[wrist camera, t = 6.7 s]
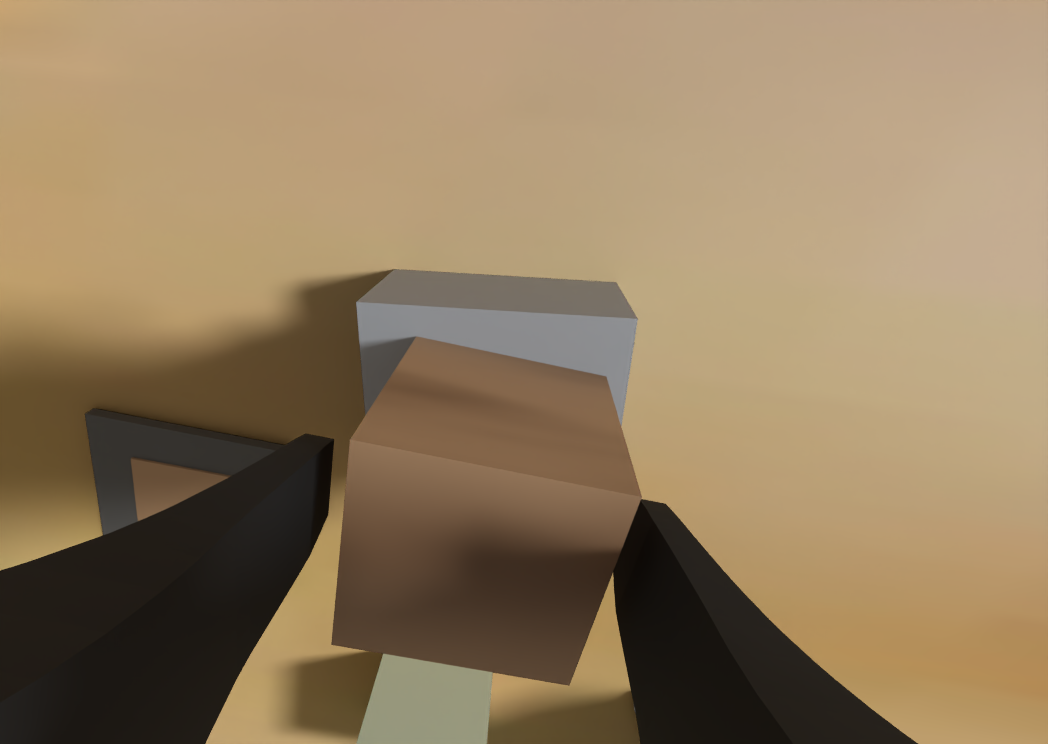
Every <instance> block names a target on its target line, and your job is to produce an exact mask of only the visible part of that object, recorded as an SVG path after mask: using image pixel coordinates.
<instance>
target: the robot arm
mask: <svg viewBox="0 0 1048 744" xmlns="http://www.w3.org/2000/svg"><path fill="white" fill-rule="evenodd" d="M333 446H334V439H330V438H325V437H320V436H315V435H310V434H304V435H302V436H300V437H298V438H297V439H295V440H293V441H291V442H290V443H288V444H286V445H285V446H283V447H281V448H279V449H278V450H276V451H274V452H273V453H271V454H269V455H267V456H266V457H264V458H262V459H261V460H259V461H257V462H255V463H254V464H252V465H250V466H248V467H246V468H245V469H243V470H241V471H239V472H237V473H236V474H234V475H232V476H230V477H229V478H227V479H225V480H223V481H221V482H219V483H217V484H215V485H213V486H211V487H209V488H207V489H205V490H203V491H201V492H199V493H197V494H195V495H193V496H191V497H189V498H187V499H185V500H183V501H181V502H179V503H177V504H175V505H173V506H171V507H169V508H167V509H165V510H163V511H160V512H158V513H156V514H154V515H151V516H149V517H147V518H145V519H142V520H140V521H137V522H135V523H132V524H130V525H128V526H125V527H123V528H120V529H118V530H116V531H113V532H111V533H108V534H105V535H103V536H100V537H98V538H95V539H92V540H89V541H86V542H84V543H81V544H78V545H75V546H72V547H69V548H67V549H64V550H61V551H58V552H55V553H52V554H50V555H47V556H44V557H41V558H38V559H35V560H33V561H30V562H27V563H23V564H20V565H17V566H14V567H11V568H7V569H4V570H1V571H0V744H205V743H206V741H207V739H208V737H209V735H210V732H211V730H212V728H213V726H214V724H215V722H216V720H217V718H218V716H219V714H220V712H221V710H222V708H223V706H224V704H225V702H226V700H227V698H228V696H229V694H230V692H231V690H232V687H233V685H234V683H235V681H236V679H237V677H238V676H239V674H240V672H241V670H242V668H243V667H244V665H245V663H246V661H247V659H248V658H249V656H250V654H251V652H252V651H253V649H254V647H255V646H256V644H257V643H258V641H259V639H260V638H261V636H262V634H263V633H264V631H265V629H266V628H267V626H268V624H269V623H270V621H271V619H272V618H273V616H274V615H275V613H276V611H277V610H278V608H279V606H280V605H281V603H282V601H283V600H284V598H285V596H286V595H287V593H288V592H289V590H290V588H291V587H292V585H293V583H294V582H295V580H296V578H297V577H298V575H299V573H300V572H301V570H302V568H303V566H304V565H305V563H306V561H307V560H308V558H309V556H310V554H311V552H312V550H313V548H314V545H315V543H316V541H317V539H318V537H319V534H320V532H321V530H322V527H323V525H324V523H325V521H326V518H327V516H328V510H329V497H330V485H331V472H332V459H333ZM613 576H614V594H615V606H616V615H617V620H618V626H619V631H620V636H621V642H622V647H623V652H624V657H625V662H626V667H627V672H628V677H629V682H630V687H631V692H632V698H633V704H634V710H635V713H636V718H637V724H638V731H639V737H640V743H641V744H918V743H916V742H915V741H913V740H912V739H911V738H909V737H908V736H907V735H905V734H904V733H902V732H901V731H900V730H898V729H897V728H896V727H894V726H893V725H892V724H890V723H889V722H888V721H887V720H885V719H884V718H883V717H881V716H880V715H879V714H877V713H876V712H875V711H873V710H872V709H871V708H870V707H868V706H867V705H866V704H865V703H863V702H862V701H861V700H860V699H858V698H857V697H856V696H855V695H854V694H852V693H851V692H850V691H849V690H847V689H846V688H845V687H844V686H842V685H841V684H840V683H839V682H838V681H836V680H835V679H834V678H833V677H832V676H830V675H829V674H828V673H827V672H826V671H825V670H823V669H822V668H821V667H820V666H819V665H818V664H816V663H815V662H814V661H813V660H812V659H811V658H810V657H809V656H808V655H806V654H805V653H804V652H803V651H802V650H801V649H800V648H799V647H798V646H797V645H796V644H794V643H793V642H792V641H791V640H790V639H789V638H788V637H787V636H786V635H785V634H784V633H783V632H782V631H780V630H779V629H778V628H777V627H776V626H775V625H774V624H773V623H772V622H771V621H770V620H769V619H768V618H767V617H766V616H765V615H764V614H763V613H762V612H761V611H760V609H759V608H758V607H757V606H756V605H755V604H754V603H753V602H752V601H751V600H750V599H749V598H748V597H747V596H746V595H745V594H744V593H743V592H742V591H741V590H740V588H739V587H738V586H737V585H736V584H735V583H734V582H733V581H732V580H731V579H730V577H729V576H728V575H727V574H726V573H725V572H724V571H723V570H722V568H721V567H720V566H719V565H718V564H717V563H716V562H715V560H714V559H713V558H712V557H711V556H710V555H709V553H708V552H707V551H706V550H705V549H704V548H703V546H702V545H701V544H700V543H699V542H698V540H697V539H696V538H695V537H694V536H693V535H692V533H691V532H690V531H689V530H688V529H687V527H686V526H685V525H684V524H683V523H682V522H681V520H680V519H679V518H678V517H677V516H676V515H675V513H674V512H673V511H672V510H671V509H670V508H669V507H668V506H667V505H666V504H664V503H658V502H653V501H648V500H643V499H641V500H640V503H639V506H638V508H637V511H636V513H635V516H634V519H633V521H632V524H631V526H630V529H629V532H628V534H627V537H626V539H625V542H624V545H623V547H622V550H621V552H620V555H619V558H618V560H617V563H616V565H615V568H614V571H613Z"/></svg>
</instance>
